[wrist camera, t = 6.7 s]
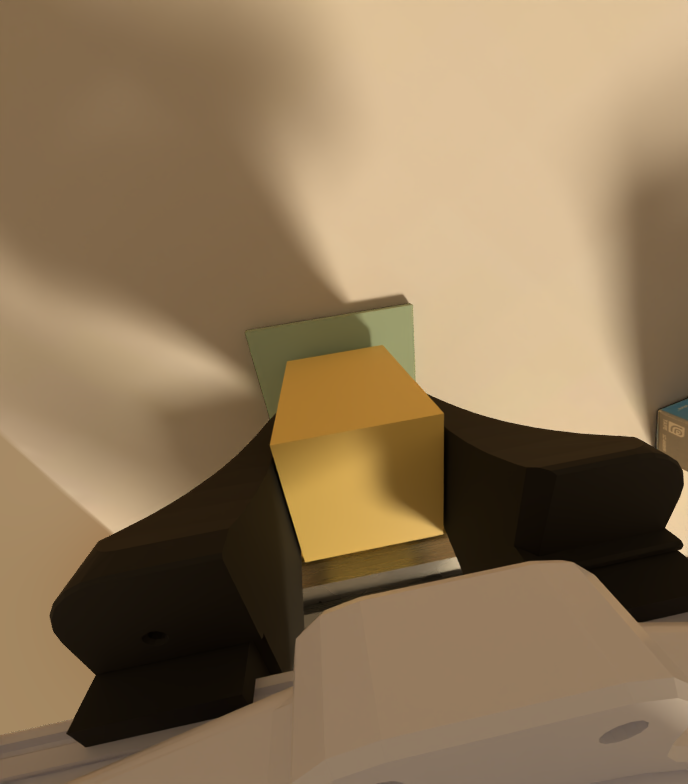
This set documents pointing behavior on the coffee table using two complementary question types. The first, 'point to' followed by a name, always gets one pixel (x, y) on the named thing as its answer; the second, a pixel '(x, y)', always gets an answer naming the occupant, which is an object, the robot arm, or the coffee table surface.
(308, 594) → the box
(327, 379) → the ochre block
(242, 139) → the coffee table surface
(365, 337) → the pad
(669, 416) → the label tape box
